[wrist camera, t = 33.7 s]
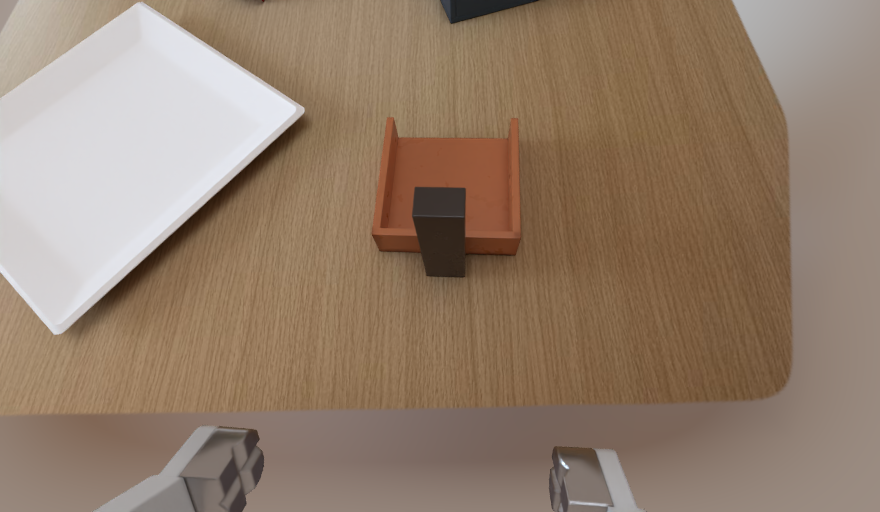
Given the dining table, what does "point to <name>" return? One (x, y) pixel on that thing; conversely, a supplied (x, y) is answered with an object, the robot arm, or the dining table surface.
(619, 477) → the robot arm
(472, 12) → the tray
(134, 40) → the plate
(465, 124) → the dining table surface
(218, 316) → the dining table surface
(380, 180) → the pan
